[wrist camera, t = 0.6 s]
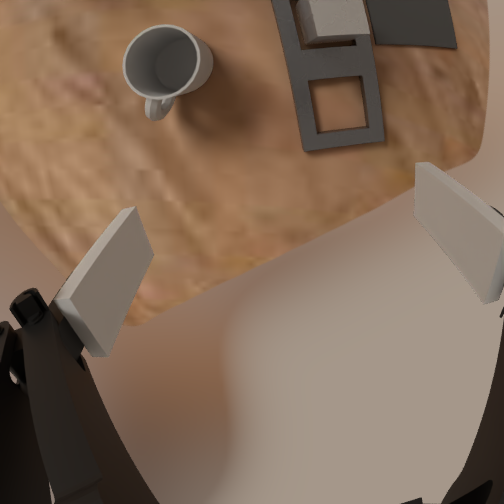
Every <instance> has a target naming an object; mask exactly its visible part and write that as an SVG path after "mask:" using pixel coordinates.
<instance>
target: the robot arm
mask: <svg viewBox="0 0 504 504" xmlns="http://www.w3.org/2000/svg"><path fill="white" fill-rule="evenodd" d="M414 217H415V218H416V219H417V220H418V221H419V222H420V224H421V225H422V226H423V227H424V228H425V229H426V231H427V232H428V233H429V234H430V235H431V237H432V238H433V239H434V240H435V241H436V242H437V244H438V245H439V246H440V247H441V248H442V250H443V251H444V252H445V253H446V255H447V256H448V257H449V258H450V260H451V261H452V262H453V264H454V265H455V266H456V267H457V269H458V270H459V271H460V273H461V274H462V275H463V276H464V278H465V279H466V280H467V282H468V283H469V285H470V286H471V287H472V289H473V290H474V292H475V293H476V294H477V296H478V297H479V299H480V300H481V302H482V303H483V304H488V303H491V302H494V301H497V300H499V298H500V295H501V292H502V290H503V287H504V216H503V215H502V214H501V213H500V212H499V211H498V210H496V209H495V208H493V207H491V206H489V205H488V204H487V203H485V202H484V201H483V200H482V199H480V198H479V197H478V196H476V195H475V194H474V193H473V192H471V191H470V190H469V189H467V188H466V187H464V186H463V185H462V184H460V183H459V182H458V181H456V180H455V179H453V178H452V177H451V176H449V175H448V174H446V173H445V172H443V171H442V170H440V169H439V168H437V167H436V166H434V165H433V164H431V163H430V162H420V163H415V199H414ZM153 256H154V253H153V250H152V248H151V245H150V243H149V240H148V238H147V235H146V232H145V230H144V227H143V224H142V222H141V219H140V216H139V213H138V211H137V208H136V206H134V207H130V208H126V209H122V210H121V211H120V213H119V214H118V215H117V216H116V217H115V219H114V220H113V221H112V222H111V223H110V225H109V226H108V227H107V228H106V230H105V231H104V232H103V233H102V235H101V236H100V237H99V238H98V240H97V241H96V242H95V243H94V245H93V246H92V247H91V249H90V250H89V251H88V252H87V254H86V255H85V256H84V258H83V259H82V260H81V262H80V263H79V264H78V266H77V267H76V269H75V270H74V271H73V272H72V273H71V274H70V276H69V277H68V278H67V280H66V282H65V283H64V284H63V286H62V288H61V289H60V290H59V291H58V293H57V294H56V296H55V297H54V299H53V300H52V301H51V303H50V305H49V306H47V304H46V303H45V301H44V300H43V298H42V296H41V295H40V293H39V292H38V290H37V289H36V288H31V289H28V290H26V291H24V292H22V293H21V294H20V295H19V296H17V297H16V298H15V299H14V301H13V302H12V303H11V305H10V311H11V312H12V314H13V315H14V317H15V318H16V320H17V321H18V322H19V324H20V325H21V327H22V328H20V329H17V330H14V329H13V328H12V327H11V325H10V324H9V322H8V321H3V322H1V323H0V504H52V502H51V495H50V487H49V482H50V485H51V488H52V491H53V494H54V498H55V503H54V504H159V502H158V501H157V499H156V498H155V496H154V495H153V494H152V492H151V490H150V489H149V487H148V486H147V484H146V482H145V481H144V479H143V478H142V476H141V474H140V473H139V471H138V469H137V468H136V466H135V464H134V462H133V461H132V459H131V457H130V455H129V454H128V452H127V450H126V448H125V446H124V444H123V442H122V441H121V439H120V437H119V435H118V433H117V431H116V429H115V427H114V425H113V423H112V421H111V419H110V417H109V415H108V412H107V410H106V408H105V406H104V404H103V401H102V399H101V397H100V395H99V392H98V390H97V388H96V385H95V383H94V380H93V378H92V375H91V373H90V370H89V368H88V365H87V363H86V360H85V359H84V357H83V356H82V355H81V352H82V350H83V348H84V346H85V348H86V349H87V350H88V352H89V353H90V354H91V356H92V357H109V355H110V352H111V350H112V347H113V345H114V343H115V340H116V338H117V335H118V333H119V330H120V328H121V326H122V324H123V321H124V319H125V317H126V314H127V312H128V310H129V308H130V305H131V303H132V301H133V299H134V297H135V294H136V292H137V290H138V288H139V286H140V283H141V281H142V279H143V277H144V275H145V273H146V271H147V269H148V267H149V265H150V262H151V260H152V258H153ZM503 314H504V307H503V309H502V312H501V314H500V318H502V316H503ZM10 372H11V373H12V374H13V375H14V376H15V377H16V378H17V383H16V384H15V383H14V382H13V381H12V380H11V377H10ZM401 504H423V503H422V498H418V499H415V500H412V501H408V502H405V503H401ZM441 504H504V322H503V329H502V336H501V342H500V348H499V353H498V358H497V364H496V368H495V373H494V377H493V381H492V385H491V389H490V394H489V397H488V400H487V404H486V407H485V411H484V414H483V417H482V420H481V423H480V426H479V429H478V432H477V435H476V438H475V440H474V443H473V446H472V449H471V451H470V454H469V456H468V458H467V461H466V463H465V466H464V468H463V470H462V472H461V474H460V475H459V477H458V478H457V479H456V481H455V482H454V483H453V485H452V486H451V487H450V489H449V490H448V492H447V494H446V496H445V497H444V499H443V501H442V503H441Z"/></svg>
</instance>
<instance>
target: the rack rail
mask: <svg viewBox="0 0 504 504" xmlns="http://www.w3.org/2000/svg"><path fill="white" fill-rule="evenodd" d="M292 1H299V0H271V3H272V6H273V10H274V14H275V18H276V22H277V26H278V30H279V34H280V39H281V43H282V47H283V52H284V56H285V61H286V65H287V70H288V74H289V79H290V84H291V89H292V94H293V99H294V104H295V109H296V114H297V120H298V125H299V131H300V136H301V142H302V148H303V151H304V152H305V151H312V150H318V149H325V148H332V147H339V146H347V145H355V144H363V143H372V142H381V141H385V140H384V128H383V119H382V110H381V101H380V94H379V86H378V80H377V73H376V67H375V61H374V56H373V50H372V45H371V40H370V35H369V34H368V35H365V36H362V37H359V38H356V39H353V45H354V46H343V47H329V48H318V49H309V50H301V47H300V43H299V39H298V34H297V30H296V26H295V22H294V18H293V14H292V10H291V6H290V2H292ZM346 76H359V78H360V84H361V90H362V97H363V104H364V112H365V120H366V126H365V127H355V128H347V129H338V130H331V131H323V132H317V131H316V125H315V119H314V113H313V107H312V102H311V96H310V91H309V86H308V80H316V79H325V78H335V77H346Z"/></svg>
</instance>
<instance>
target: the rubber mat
mask: <svg viewBox="0 0 504 504" xmlns="http://www.w3.org/2000/svg"><path fill="white" fill-rule="evenodd" d="M366 4H367V8H368V12H369V16H370V21H371V25H372V30H373V34H374V39H375V44H399V45H422V46H436V47H447V48H456V49H457V43H456V37H455V32H454V27H453V22H452V17H451V13H450V9H449V4H448V0H366Z"/></svg>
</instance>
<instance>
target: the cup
mask: <svg viewBox="0 0 504 504" xmlns="http://www.w3.org/2000/svg"><path fill="white" fill-rule="evenodd" d="M212 69H213V55H212V53H211V50H210V49H209V47H208V46H207V45H206V43H205V42H203V41H202V40H201V39H199V38H198V37H196V36H194V35H193V34H191V33H190V32H188V31H186V30H185V29H183V28H181V27H178V26H174V25H164V24H162V25H157V26H152V27H150V28H148V29H146V30H144V31H142V32H141V33H140V34H138V35H137V36H136V37H135V38H134V39H133V40H132V42H131V43H130V44H129V46H128V47H127V50H126V52H125V54H124V59H123V74H124V77H125V79H126V82H127V84H128V85H129V86H130V88H131V89H132V90H133V91H134V92H136V93H137V94H139V95H140V96H143V97H145V98H146V103H145V114H146V116H147V117H148V118H149V119H150V120H152V121H157V120H161V119H163V118H164V117H165V116H166V115H167V114H168V112H169V111H170V109H171V108H172V106H173V104H174V101H175V98H176V96H178V95H182V94H186V93H189V92H192V91H194V90H196V89H198V88H199V87H200V86H202V85H203V84H204V83H205V82H206V81H207V80H208V78H209V76H210V74H211V72H212Z"/></svg>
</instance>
